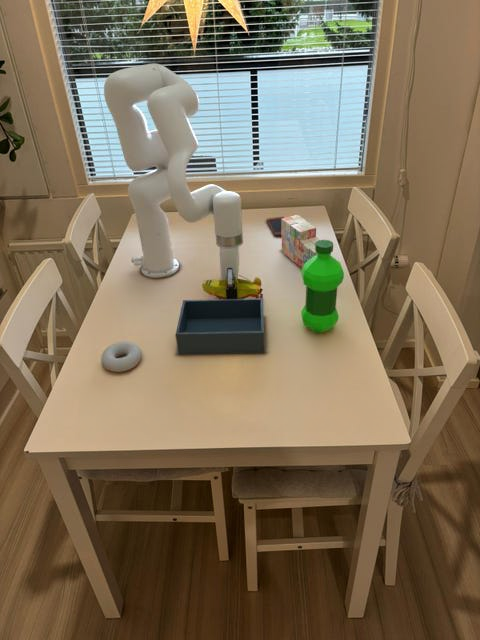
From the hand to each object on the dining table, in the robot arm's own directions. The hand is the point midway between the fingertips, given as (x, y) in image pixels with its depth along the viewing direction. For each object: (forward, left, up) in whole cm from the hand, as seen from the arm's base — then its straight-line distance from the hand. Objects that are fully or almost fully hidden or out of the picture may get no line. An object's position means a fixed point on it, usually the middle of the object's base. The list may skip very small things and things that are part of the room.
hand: (232, 292), depth 141 cm
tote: (-2, -18, -2) cm, 18 cm away
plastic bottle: (+24, -15, -2) cm, 28 cm away
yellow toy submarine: (0, 0, -2) cm, 2 cm away
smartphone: (+16, +48, -2) cm, 51 cm away
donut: (-27, -28, -2) cm, 39 cm away
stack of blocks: (+23, +21, -2) cm, 31 cm away
